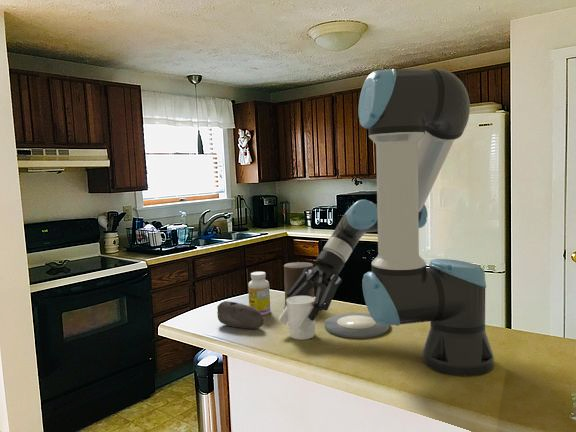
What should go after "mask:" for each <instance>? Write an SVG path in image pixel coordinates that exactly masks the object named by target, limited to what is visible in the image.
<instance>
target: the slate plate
mask: <svg viewBox="0 0 576 432" xmlns="http://www.w3.org/2000/svg"><path fill="white" fill-rule="evenodd" d="M324 329H325V330H326V332H327V333H329V334H331V335H334V336H335V337H336V336H337V337H341V338H347V339H368V338H375V337H379V336H382V335H384V334H386V333H387V332H388V331H389V330H390V325H380V324H378V323H376V322H375V321H374V319H373V318H372V317H371V315H370V313H369V312H368V313H367V312H347V313H346V312H344V313H340V314H336V315H332V316H329V317H328V318H327V319H326V320H325V321H324Z"/></svg>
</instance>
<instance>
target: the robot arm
mask: <svg viewBox="0 0 576 432" xmlns="http://www.w3.org/2000/svg"><path fill="white" fill-rule="evenodd" d="M360 90H361V91H360V95H359V100H358V109H357V111H358V119H359V124H360V126H361V127H363V128H364V129H367V130H368V138H369V139H370V140H371V141H372V142H373V143H374V144H375V149H376V150H375V155H376V163H375V164H376V202H377V203H374V202H373V201H370V200H367V199H359V200H357V201H356V202H354V203H353V204H352V205H351V206H350V207H349V208H348V209H347V210H346V212H345V213H344V214H343V215H342V217H341V219H340V220H339V222H338V224H337V225H336V227H335V230H334V231H333V233H332V234H331V236H330V237H329V238H328V240H327V242H326V243H325V244H324V246H323V248H322V250H321V251H320V253H319V254H318V256H317V257H316V259H315V266H313V269H312V270H308V269H307V268H305V269H304V271H303V273H302V275H301V276H300V277H299V279H298V280H297V281H296V282H295V284H294V285H293V286H292V288H291V289H290V290H289V291H288V293H287V294H286V295H287V296H288V297H289V298H290V297H293V296H304V295H305V294H306V293H307V292H309V291H310V290H311V289H312V288H314V289H315V288H316V287H317V290H316V294H315V296H314V298H315V301H314V303H312V305H313V306H314V307H313V306H310V307H309V309H308V310H307V312H306V314H305V315H304V317H303V318H302V320H301V322H300V323H299V325H298V327H299V328H300V329H301V330H302V331H303V332H306V331H307V329H308V327H309V326H310V324H311V322H312V321H314V320H315V321H316V318H317V317H318V315H319V313H320V312H322V311H323V310H324V311H328V310H329V308H330V305H331V303H332V301H333V298H334V296H335V294H336V292H337V290H338V287H339V286H340V285H341V283H342V282H343V279H342V277H340V276H339V274H340V273H341V271H342V269H343V268H344V267H345V264H346V262H347V261H348V259H349V258H350V256H351V254H352V253H353V251H354V249H355V248H356V246H357V244H358V243H359V241H360V240H361V238H362V237H363V236H364V235H366V233H373V232H374V233H375V232H377V253H378V254H377V256H376V257H375V258H374V259H373V260H372V261H371V271H367V272H366V273H364V274H363V277H362V280H361V281H362V283H361V286H362V293H363V298H364V302H365V306H366V308H367V310H368V314H370V315H371V317H372V318H373V319H374V321H375V322H376V323H378V324H380V325H389V326H395V327H396V326H400V325H408V324H409V325H410V324H416V323H417V324H418V323H419V324H420V323H429V322H430V327H429V330H428V334H427V336H426V339H425V342H424V346H423V349H422V361H423V363H424V365H426V366H427V368H430V369H432V370H433V371H436V372H438V373H442V374H446V375H449V376H450V375H452V376H458V377H459V376H460V377H474V376H475V377H476V376H481V375H484V374H485V375H486V374H488V373H489V372H491V371H493V369H494V366H495V362H494V360H495V359H494V357H495V356H494V353H493V349H492V347H491V345H490V341H489V338H488V335H487V333H486V288H487V283H486V282H487V281H486V273H485V270H484V269H483V267H481V266H480V265H478V264H476V263H473V262H468V261H465V260H464V261H463V260H457V259H449V258H447V259H446V258H434V259H431V260H430V262H429V264H428V266H429V267H427V261H425V260H424V259H423V258H422V257H421V256H420V254H419V253H420V250H419V249H420V244H419V243H420V241H419V240H420V239H419V235H420V233H419V232H420V231H419V229H421V228H423V227H425V225H426V224H427V221H428V219H427V218H428V210H427V206H426V205H425V203H426V202H427V199H428V197H429V195H430V192H431V191H432V188H433V187H434V184H435V183H436V180H437V178H438V176H439V174H440V172H441V169H442V168H443V165H444V164H445V161H446V158H447V157H448V154H449V153H450V150H451V148H452V147H453V144H454V142H455V141H456V140H458V139H459V138H461V137H462V135H463V134H464V131H465V130H466V128H467V124H468V123H469V117H470V113H471V112H470V108H471V103H470V98H469V94H468V91H467V88H466V86H465V85H464V83H463V81H461V79H460V78H458V77H457V75H456V74H454V73H452V72H450V71H448V70H446V69H441V68H431V69H423V68H422V69H421V68H419V69H418V68H416V69H415V68H413V69H412V68H389V69H379V70H375V71H372V72H371V73H370V74H369V75H368V76H367V77H366V79H365V80H364V83H363V85H362V88H361V89H360ZM310 280H311V281H312V282H313V283H312V282H311V281H310ZM277 319H278V321H279V322H281V323H282V324H283V325H285V326H286V325H287V323H288V314H287V304H286V306H285V305H284V307H283V311H282V312H281V314H280V316H279V317H278V318H277Z"/></svg>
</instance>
